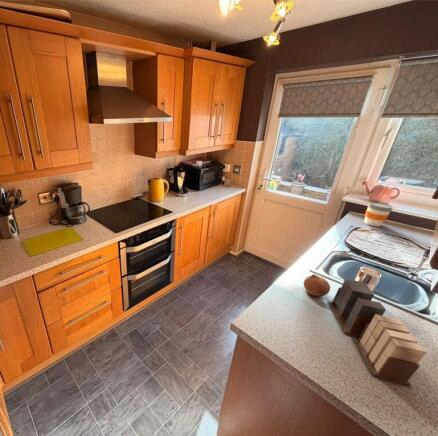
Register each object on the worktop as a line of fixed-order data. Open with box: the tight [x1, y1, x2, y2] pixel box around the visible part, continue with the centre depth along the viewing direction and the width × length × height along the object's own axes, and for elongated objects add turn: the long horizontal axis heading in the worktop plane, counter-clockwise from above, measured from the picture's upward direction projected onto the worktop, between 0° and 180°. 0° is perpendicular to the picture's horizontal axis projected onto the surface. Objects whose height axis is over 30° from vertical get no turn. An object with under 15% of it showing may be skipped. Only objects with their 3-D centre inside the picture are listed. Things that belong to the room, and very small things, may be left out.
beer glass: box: [354, 266, 383, 292], centre depth 98 cm, size 7×7×15 cm
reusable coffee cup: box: [363, 201, 393, 227], centre depth 166 cm, size 13×13×15 cm
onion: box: [303, 273, 331, 298], centre depth 102 cm, size 10×9×10 cm
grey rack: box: [328, 278, 387, 338], centre depth 88 cm, size 9×16×14 cm, turn 162°
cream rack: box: [353, 314, 427, 386], centre depth 73 cm, size 9×13×14 cm
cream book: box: [369, 329, 418, 364], centre depth 72 cm, size 6×2×13 cm, turn 72°
